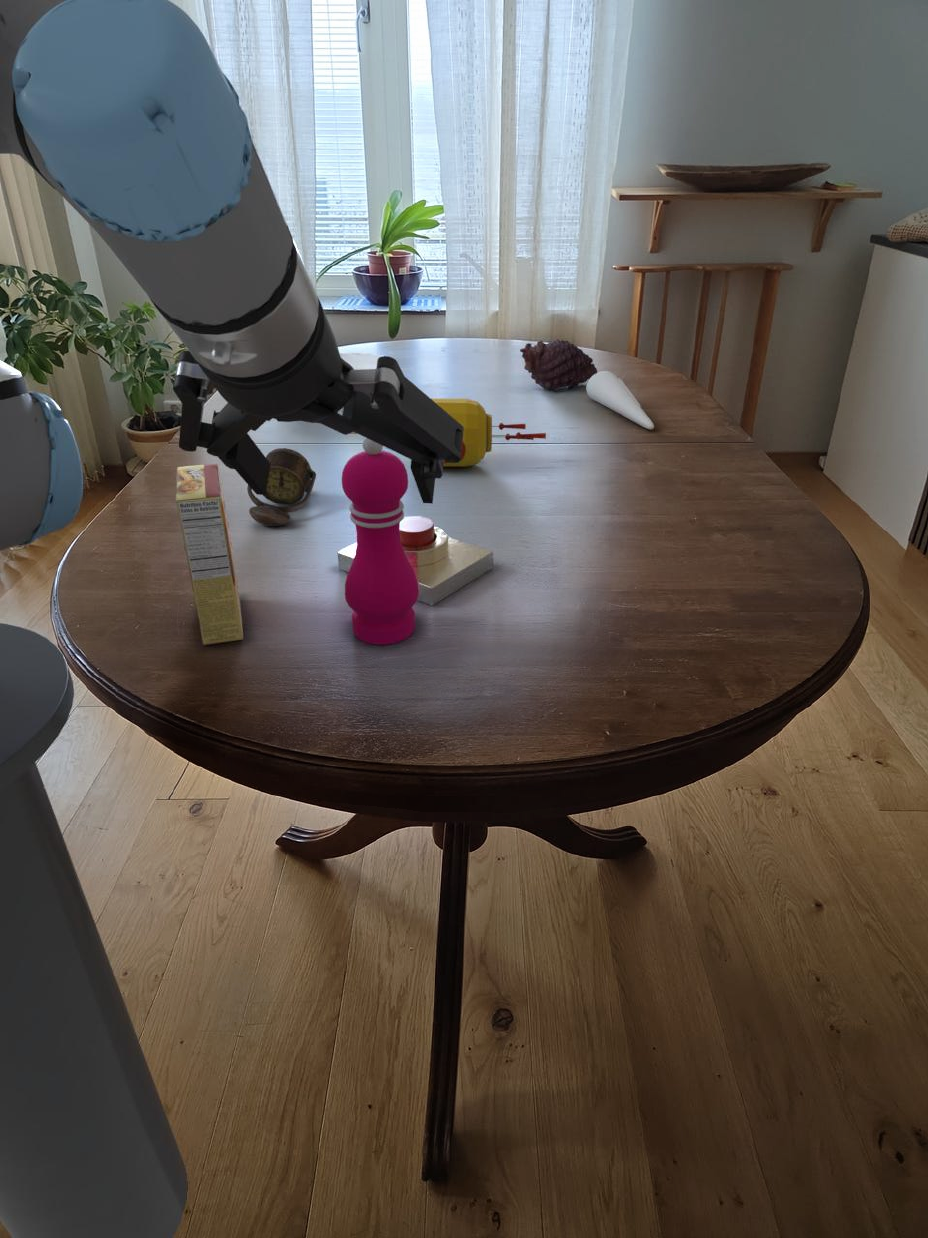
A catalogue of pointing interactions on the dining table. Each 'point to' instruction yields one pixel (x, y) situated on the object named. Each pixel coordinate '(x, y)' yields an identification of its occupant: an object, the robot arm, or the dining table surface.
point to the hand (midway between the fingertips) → (345, 483)
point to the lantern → (476, 430)
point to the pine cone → (557, 364)
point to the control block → (438, 565)
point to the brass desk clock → (283, 487)
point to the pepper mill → (379, 548)
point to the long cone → (617, 397)
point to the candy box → (209, 552)
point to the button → (416, 531)
